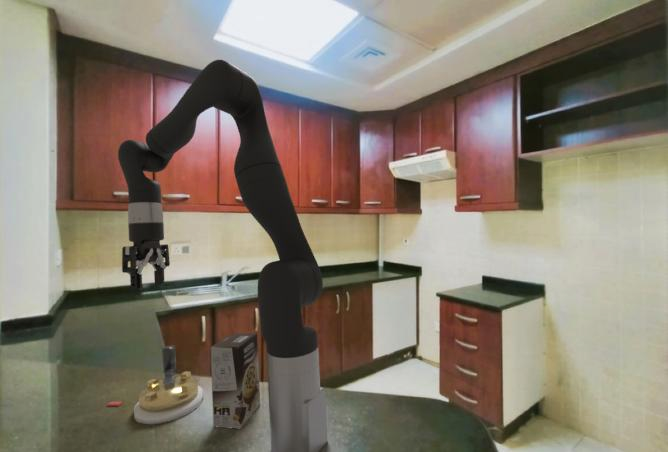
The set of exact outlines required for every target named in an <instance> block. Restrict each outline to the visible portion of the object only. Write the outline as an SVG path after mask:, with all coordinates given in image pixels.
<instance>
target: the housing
mask: <svg viewBox="0 0 668 452" xmlns="http://www.w3.org/2000/svg"><path fill="white" fill-rule="evenodd" d="M202 399H203V400H204V389H203V388H202V387H201V386H200V385H198V393H197V395H196V396H195V397H194V398H192V399H191V400H190V401H188V402H186V403H184V404H182V405H180V406H178V407H175V408H172V409H168V410H164V411H156V412H149V411H144V410H142V409H141V408H140V407H139V401H137V403H136V404H135V405H134V407H133V417H134V420H135V422H137V423H139V424H144V425H157V424H163V422H164V423H168V422H171V420H172V421H175V420H176V419H180V418H182V417H185V416H186V415H188V414H191V413H192V412H193V411H195V410H196V409H197V408H198V407H200V405H201V404H202V403H203V401H202ZM201 402H202V403H201ZM200 403H201V404H200ZM199 404H200V405H199ZM195 408H196V409H195ZM194 409H195V410H194ZM174 419H175V420H174ZM167 421H168V422H167Z"/></svg>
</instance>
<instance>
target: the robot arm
mask: <svg viewBox="0 0 668 452" xmlns="http://www.w3.org/2000/svg"><path fill="white" fill-rule="evenodd" d="M210 108H215V109H216V110H219V111H221V112H223V113H225V114H228V115H230V116H231V117H232V118H233V120H234V123H235V125H236V127H237V131H238V133H239V134H238V135H239V139H240V143H239V147H238V149H237V152H236V155H235V160H234V166H233V173H234V178H235V181H236V184H237V188H238V191H239V194H240V197H241V200H242V203H243V204H244V206H245V207H246V209H247V210H248V212H249V213H250V215H251V216H252V217H253V219H255V220H256V221H257V223H258V224H259V225H260V227H262V229H263V230H264V231H265V232H266V233H267V235H268V236H269V238H270V239H271V241H272V243H273V245H274V247H275V251H276V252H277V255H278V260H275V261H271V262H269V263H267V264H265V265H264V266H263V267H262V269H261V270H260V273H259V276H258V280H257V301H258V302H257V303H258V310H259V311H258V312H259V321H260V330H261V334H262V337H263V339H264V342H265V345H266V365H267V368H266V369H267V383H268V384H267V391H268V407H269V408H268V409H269V411H268V413H269V430H270V449H271V452H320V451H321V450H322V449H323V447H324V446H325V445H326V443H327V442H328V439H329V438H328V423H327V407H326V405H327V403H326V389H325V387H322V386H321V379H320V378H321V377H320V375H321V374H320V358H319V357H320V356H319V339H318V338H319V337H318V333H317V330H316V328H314V327H313V326H309V325H304V322H303V314H302V308H304V307H307V306H309V305H311V304H314V303H315V302H316V301H318V300H319V298H320V297H321V295H322V292H323V286H324V285H323V283H324V282H323V276H322V272H321V269H320V266H319V264H318V262H317V259H316V257H315V255H314V253H313V250H312V248H311V246H310V244H309V242H308V240H307V237H306V235H305V233H304V231H303V228H302V225H301V222H300V219H299V216H298V214H297V210H296V208H295V205H294V203H293V199H292V197H291V194H290V189H289V187H288V183H287V181H286V177H285V173H284V171H283V168H282V166H281V162H280V159H279V157H278V155H277V151H276V147H275V145H274V141H273V138H272V135H271V132H270V129H269V126H268V125H269V124H268V122H267V121H268V120H267V116H266V112H265V107H264V102H263V97H262V94H261V89H260V87H259V85H258V83H257V81H256V80H255V79H254V78H253V77H252V76H251V75H250V74H249V73H247V72H245V71H243V70H241V69H240V68H238V67H237V66H236V65H234V64H232V63H230V62H228V61H227V60H224V59H215V60H213V61H210V62H209V63H208V64H207V65H206V66H205V67H204V68H203V69H202V70H201V71H200V73H199V74H198V75H197V76H196V77H195V79H194V80H193V81H192V83H191V84H190V86H189V87H188V88H187V89H186V91H185V92H184V93H183V95H182V96H181V98H179V100H178V102H177V103H176V105H175V106H174V107H173V108H172V110H170V112H169V113H168V114H167V115H166V116H165V117H164V118H163V119H161V120H160V121H159V122H158V123H157V124H156V125H154V126H153V127H152V128H151V129H150V130H149V131H148V132H147V133H146V135H145V142H142V141H140V140H136V139H135V140H134V139H127V140H124V141H123V142H121V144H120V146H119V147H118V152H117V158H118V162H119V165H120V167H121V170H122V174H123V176H124V179H125V182H126V184H127V188H128V209H127V224H128V225H127V226H128V228H127V229H128V240H129V242H132V243H133V245H128V246H125V245H124V246H122V251H121V254H122V255H121V260H122V262H121V263H122V264H121V267H122V268H121V272H122V273H124V274H128V275H129V277H130V279H129V280H130V289H131V291H135V292H137V291H141V290H143V277H142V275H143V274H142V272H143V269H144V267H146V266H147V265H148V264H149V265H152V267H153V269H154V272H153V273H154V274H153V275H154V276H153V277H154V284H155V286H158V285H159V286H160V285H164V284H165V270H166V267H170V265H171V262H170V261H171V260H170V252H169V251H170V250H169V245H168V244H161V242H160V241H163V240H165V231H164V230H165V227H164V226H165V225H164V212H163V206H162V186H161V185H160V183H159V182H158V181H155V180H153V179H151V178H149V177H147V175H145V172H147V173H160V172H162V171H164V170H165V169H166V168H167V166H168V165H169V164H170V161H171V160H172V158H173V157H174V155H175V154H176V153H177V152H179V150H181V149H183V147H185V146H187V145H188V143H190V141H191V140H192V139H193V137H194V136H195V133H196V129H197V120H198V118H199V116H200V115H201V114H202V113H204V112H206V111H207V110H209V109H210ZM129 264H130V266H129Z"/></svg>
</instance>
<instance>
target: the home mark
mask: <svg viewBox="0 0 668 452" xmlns="http://www.w3.org/2000/svg"><path fill="white" fill-rule="evenodd" d="M123 404H124V401H110V402H108V403H107V404H106V405H107V407H120V406H121V405H123Z"/></svg>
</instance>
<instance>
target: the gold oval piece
mask: <svg viewBox="0 0 668 452" xmlns="http://www.w3.org/2000/svg"><path fill="white" fill-rule="evenodd" d="M161 350H162V351H161V353H162V354H161V355H162V373H164V379H161V380H158V379H156V378H155V379H154V378H151V379H150V380H148V381H146V387H145V388H143V389H142V390H141V392H140V393H139V395H138V402H139V407H140V408H141V409H142V410H144V411H149V412H156V411H164V410H168V409H172V408H175V407H178V406H180V405H182V404H184V403H186V402H188V401H190V400H191V399H192V398H194V397H195V396H196V395H197V393H198V386H199V381H198V380H199V379H197V378H196V377H194V376H192V374H191V373H192V372H191V371H187V370H185V371H183V372H182V373H180V375H179V376H175V371H177V364H176V363H177V359H176V358H177V357H176V345H174V344H172V345H166V346H163V347H162V348H161Z"/></svg>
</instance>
